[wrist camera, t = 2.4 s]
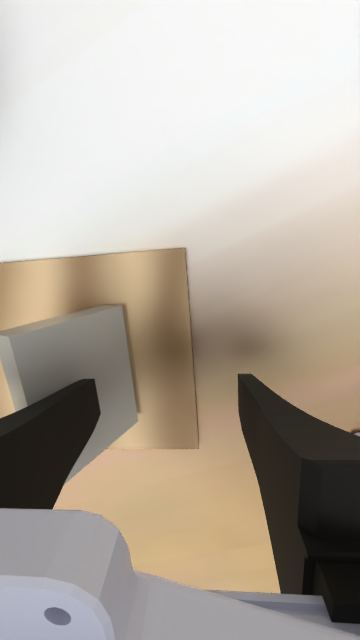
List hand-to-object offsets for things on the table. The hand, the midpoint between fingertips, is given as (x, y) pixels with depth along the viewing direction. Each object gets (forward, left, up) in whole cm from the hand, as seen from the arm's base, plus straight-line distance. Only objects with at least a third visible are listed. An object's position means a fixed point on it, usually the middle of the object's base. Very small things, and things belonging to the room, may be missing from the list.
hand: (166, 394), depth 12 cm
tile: (+3, 0, -4) cm, 5 cm away
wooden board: (+6, 0, -5) cm, 8 cm away
